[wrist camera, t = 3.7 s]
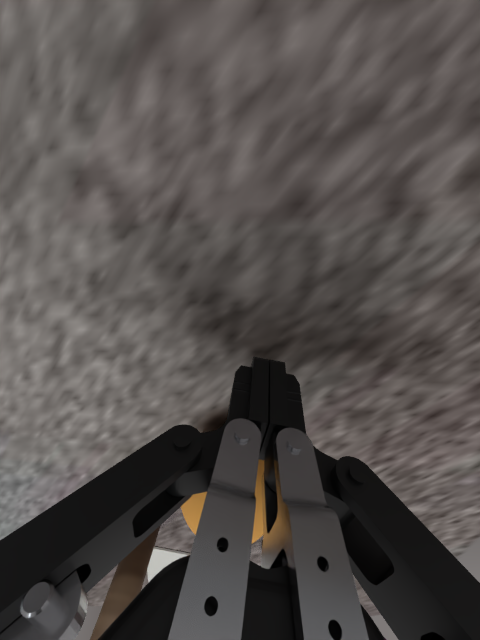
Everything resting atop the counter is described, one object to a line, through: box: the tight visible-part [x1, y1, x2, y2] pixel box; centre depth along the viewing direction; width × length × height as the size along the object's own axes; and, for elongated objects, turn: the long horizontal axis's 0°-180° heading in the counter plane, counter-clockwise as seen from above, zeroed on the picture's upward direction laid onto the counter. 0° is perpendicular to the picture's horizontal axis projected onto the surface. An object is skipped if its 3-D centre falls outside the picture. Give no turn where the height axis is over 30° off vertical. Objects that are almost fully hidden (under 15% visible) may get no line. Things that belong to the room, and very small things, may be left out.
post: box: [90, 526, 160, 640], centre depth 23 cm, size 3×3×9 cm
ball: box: [181, 460, 264, 543], centre depth 16 cm, size 6×6×6 cm
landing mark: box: [147, 546, 191, 583], centre depth 34 cm, size 14×14×1 cm
